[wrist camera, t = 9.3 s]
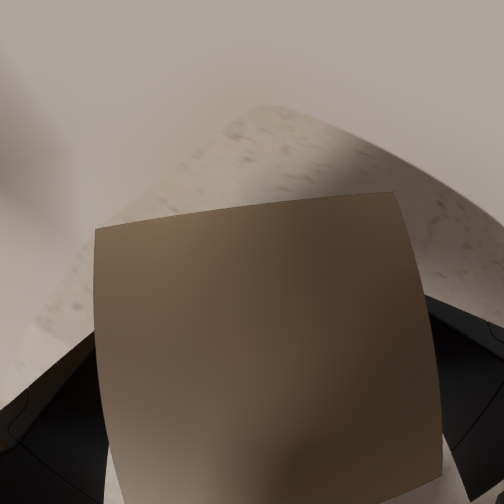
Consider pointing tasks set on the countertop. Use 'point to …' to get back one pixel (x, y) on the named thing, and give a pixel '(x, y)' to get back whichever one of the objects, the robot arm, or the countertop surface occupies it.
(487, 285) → the countertop surface
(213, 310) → the walnut column
